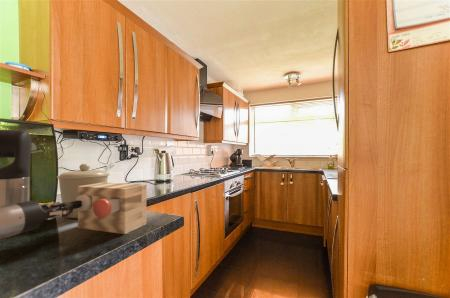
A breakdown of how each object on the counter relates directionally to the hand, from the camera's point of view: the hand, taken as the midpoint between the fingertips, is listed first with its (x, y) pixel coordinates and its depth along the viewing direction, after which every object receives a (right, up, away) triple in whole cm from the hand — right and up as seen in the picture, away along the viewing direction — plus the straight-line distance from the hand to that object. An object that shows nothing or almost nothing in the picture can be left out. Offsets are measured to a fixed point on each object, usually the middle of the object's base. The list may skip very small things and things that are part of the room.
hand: (79, 203), depth 69 cm
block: (+8, -9, +5) cm, 13 cm away
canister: (-11, -10, +18) cm, 23 cm away
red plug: (+12, -2, -3) cm, 12 cm away
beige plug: (+2, -3, +4) cm, 5 cm away
